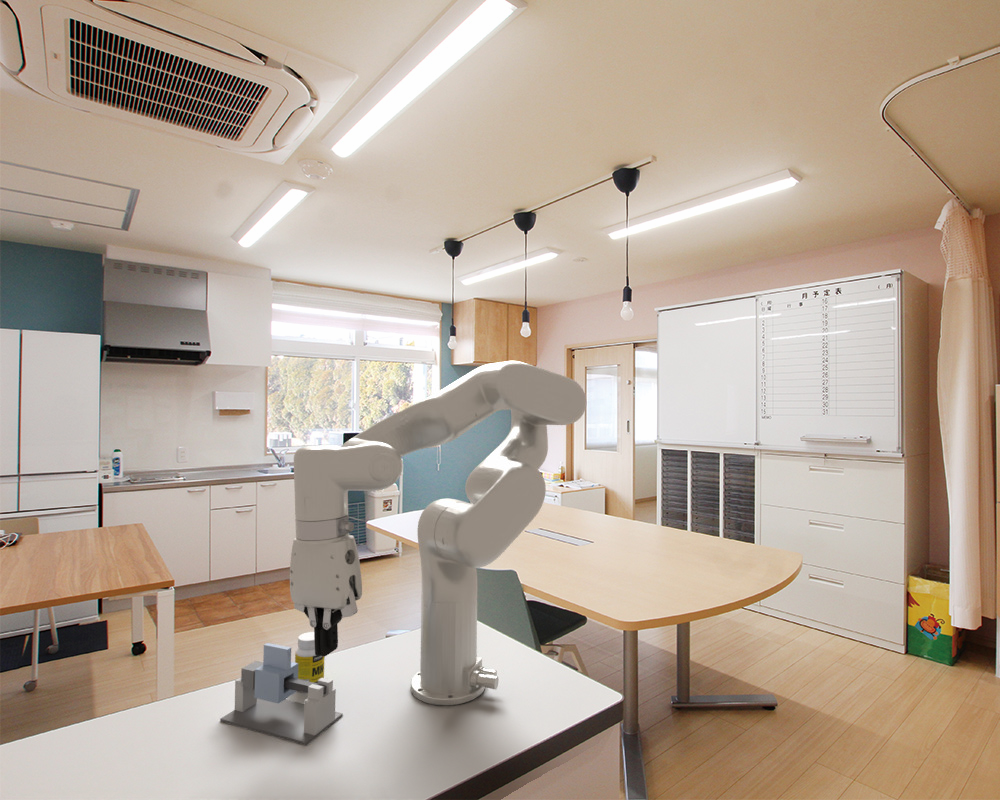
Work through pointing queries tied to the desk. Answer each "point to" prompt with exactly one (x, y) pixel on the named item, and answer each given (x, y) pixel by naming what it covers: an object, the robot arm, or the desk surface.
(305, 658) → the supplement bottle
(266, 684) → the light blue step block
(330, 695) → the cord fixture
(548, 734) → the desk surface
